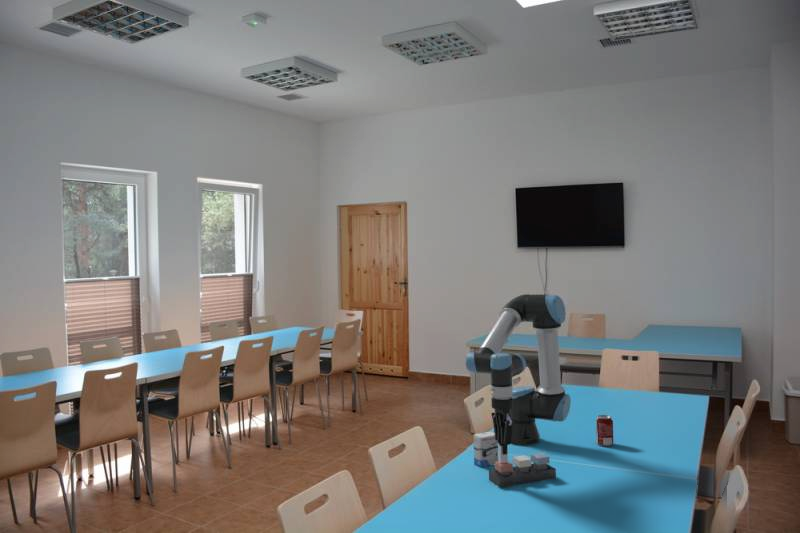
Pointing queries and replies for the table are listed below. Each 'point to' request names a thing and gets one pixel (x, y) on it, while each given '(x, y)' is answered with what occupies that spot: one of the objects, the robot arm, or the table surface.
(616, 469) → the table surface
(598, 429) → the soda can
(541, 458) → the key slate
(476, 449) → the ink box
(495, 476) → the console
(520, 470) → the key white
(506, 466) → the key brick
